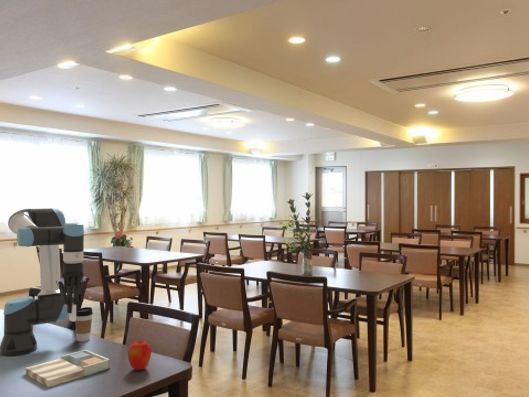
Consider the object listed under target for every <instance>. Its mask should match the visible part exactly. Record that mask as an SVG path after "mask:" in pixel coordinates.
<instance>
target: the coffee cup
mask: <svg viewBox="0 0 529 397" xmlns="http://www.w3.org/2000/svg"><path fill="white" fill-rule="evenodd" d="M93 315H94V313H93V308H92V307H90V306H85V307H80V308H78V312H76V321H74V323H75V332H76V333H75V334H76V341H77V342H87V341H89V340H90V339H91V332H92V321H93Z"/></svg>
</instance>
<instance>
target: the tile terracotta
mask: <svg viewBox="0 0 529 397" xmlns="http://www.w3.org/2000/svg"><path fill="white" fill-rule="evenodd" d="M101 361H103V360H101V359H99V358H96V357H94V358H90V359H86V360H83V361H81V368H82V369H83V367H84V366H87V365H90V364H94V363H97V362H101Z"/></svg>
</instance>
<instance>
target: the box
mask: <svg viewBox="0 0 529 397" xmlns="http://www.w3.org/2000/svg"><path fill="white" fill-rule="evenodd" d="M80 352H84V353H87V354H89V355H90V358H94V357H96V358H99V359H101V360H103V361H101V362H97V363H94V364H90V365H87V366H84V367H83V369H84V376H83V377H85V376H86V377H87V376H89V375H92V374H95V373H99V372H102V371H105V370H108V368H109V369H110V368H111V359H109V358H108V357H105V356H102V355H100V354H97V353H96V352H93V351H91V350H89V349H82V350H79V351H75V352H71V353H68V354H64V355H61V356H60V359H63V360H65V361H67V362H69V355H72V354H76V353H80ZM78 367H80V368H81V365H78Z"/></svg>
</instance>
